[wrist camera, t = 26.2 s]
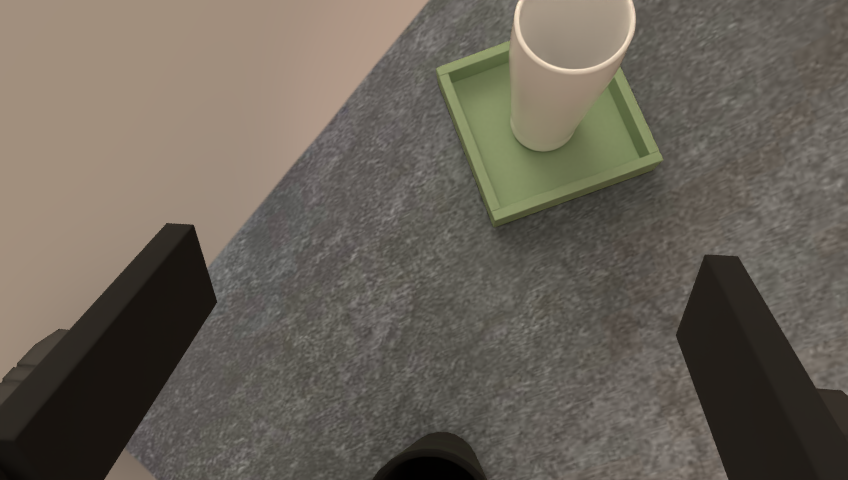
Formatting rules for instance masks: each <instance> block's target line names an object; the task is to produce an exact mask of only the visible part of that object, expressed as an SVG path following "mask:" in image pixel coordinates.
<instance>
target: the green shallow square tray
mask: <svg viewBox="0 0 848 480" xmlns="http://www.w3.org/2000/svg"><path fill="white" fill-rule="evenodd" d="M509 46H510V41H508V42H505V43H503V44H500V45H497V46H495V47H492V48H489V49H487V50H484V51H481V52H478V53H476V54H473V55H470V56H468V57H465V58H462V59H460V60H457V61H454V62H451V63H449V64H446V65H443V66H441V67H438V68H436V73H437V80H438V85H439V87H440V90H441V92H442V95H443V98H444V100H445V103H446V105H447V108H448V111H449V113H450V116H451V118H452V121H453V124H454V126H455V129H456V131H457V134H458V137H459V139H460V142H461V144H462V147H463V150H464V152H465V155H466V157H467V160H468V163H469V165H470V168H471V170H472V173H473V176H474V178H475V181H476V183H477V186H478V189H479V191H480V194H481V196H482V199H483V202H484V204H485V207H486V209H487V212H488V215H489V217H490V220H491V222H492V225H493V227H497V226H500V225H503V224H505V223H508V222H511V221H514V220H516V219H519V218H522V217H525V216H527V215H530V214H533V213H536V212H539V211H541V210H544V209H547V208H550V207H552V206H555V205H558V204H561V203H563V202H566V201H569V200H572V199H575V198H577V197H580V196H583V195H586V194H588V193H591V192H594V191H597V190H599V189H602V188H605V187H608V186H611V185H613V184H616V183H619V182H622V181H624V180H627V179H630V178H633V177H635V176H638V175H641V174H644V173H647V172H649V171H652V170H653V169H654V168H655V167H656V166H658V165H659V164H660V163H661V162H662V161H663V158H662V156H661V154H660V152H659V149H658V147H657V145H656V143H655V141H654V138H653V136H652V134H651V132H650V130H649V128H648V125H647V123H646V121H645V119H644V117H643V115H642V113H641V110H640V108H639V106H638V104H637V102H636V100H635V97H634V95H633V93H632V91H631V89H630V87H629V84H628V82H627V80H626V78H625V76H624V74H623V72H622V69H621V67H619V68H618V70H617V72H616V74H615V76H614V77H613V79H612V81H611V82H610V83H609V85H608V86H607V88H606V89H605V91H604V92H603V93H602V95H601V96H600V97H599V99H598V100H597V101H596V103H595V104H594V105H593V106H592V108H591V109H590V110H589V112H588V113H587V114H586V116H585V117H584V118H583V120H582V121H581V122H580V124H579V125H578V127H577V128H576V130H575V132H574V134H573V136H572V137H571V139H570V140H569V141H568V142H567V143H566V144H564V145H563V146H561V147H560V148H558V149H555V150H552V151H546V152H540V151H534V150H531V149H529V148H527V147H525V146H523V145H522V144H521V143H520V142H519V141H518V140H517V139H516V137H515V136H514V134H513V132H512V129H511V125H510V114H511V95H510V77H509Z"/></svg>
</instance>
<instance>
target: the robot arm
mask: <svg viewBox="0 0 848 480" xmlns="http://www.w3.org/2000/svg"><path fill="white" fill-rule="evenodd" d="M216 303H217V300H216V296H215V293H214V290H213V287H212V283H211V280H210V277H209V273H208V270H207V267H206V264H205V260H204V257H203V254H202V251H201V248H200V244H199V241H198V237H197V234H196V231H195V227H194V225H189V224H188V225H187V224H172V223H171V224H170V223H166V225H165V226H164V227H163V228H162V229H161V230H160V231H159V232H158V233H157V234H156V235H155V237H154V238H153V239H152V240H151V241H150V242H149V243H148V244H147V245H146V246H145V248H144V249H143V250H142V251H141V252H140V253H139V254H138V255H137V256H136V257H135V259H134V260H133V261H132V262H131V263H130V264H129V265H128V266H127V267H126V269H124V271H123V272H122V273H121V274H120V275H119V276H118V277H117V278H116V279H115V280H114V282H113V283H112V284H111V285H110V286H109V287H108V288H107V289H106V290H105V291H104V293H103V294H102V295H101V296H100V297H99V298H98V299H97V300H96V301H95V302H94V303H93V305H92V306H91V307H90V308H89V309H88V310H87V311H86V312H85V313H84V314H83V316H82V317H81V318H80V319H79V320H78V321H77V322H76V323H75V324H74V326H73V327H72V328H71V329H70V330H63V329H58V330H57V331H55V332H54V333H52V334H51V335H49V336H47V337H46V338H45V339H43V340H41V341H40V342H38V343H37V344H35V345H34V346H33V347H32V348H31V349H30V350H29V351H28V352H27V354H26V355H25V356H24V357H23V358H22V359H21V360H20V361H19V362H18V363H17V367H13V368H12V369H11V370H10V371H9V372H8V374H6V376H5V377H4V378H3V381H2V383H0V480H104V479H105V477H106V476H107V474H108V473H109V471H110V470H111V468H112V466H113V465H114V463H115V462H116V460H117V459H118V457H119V456H120V454H121V452H122V451H123V449H124V448H125V446H126V445H127V443H128V441H129V440H130V438H131V437H132V435H133V434H134V432H135V430H136V429H137V427H138V426H139V424H140V423H141V421H142V419H143V418H144V416H145V415H146V413H147V412H148V410H149V408H150V407H151V405H152V404H153V402H154V401H155V399H156V397H157V396H158V394H159V393H160V391H161V390H162V388H163V386H164V385H165V383H166V382H167V380H168V379H169V377H170V375H171V374H172V372H173V371H174V369H175V368H176V366H177V364H178V363H179V361H180V360H181V358H182V357H183V355H184V353H185V352H186V350H187V349H188V347H189V346H190V344H191V342H192V341H193V339H194V338H195V336H196V335H197V333H198V331H199V330H200V328H201V327H202V325H203V324H204V322H205V320H206V319H207V317H208V316H209V314H210V313H211V311H212V309H213V308H214V306H215V305H216ZM676 337H677V340H678V343H679V345H680V348H681V351H682V354H683V356H684V359H685V362H686V364H687V367H688V370H689V373H690V375H691V378H692V381H693V384H694V386H695V389H696V392H697V395H698V397H699V400H700V403H701V406H702V408H703V411H704V414H705V416H706V419H707V422H708V425H709V427H710V430H711V433H712V436H713V438H714V441H715V444H716V447H717V449H718V452H719V455H720V458H721V460H722V463H723V466H724V469H725V471H726V474H727V477H728V479H729V480H848V396H847V395H846V394H845V393H844V392H843V391H841V390H829V389H817V388H816V387H815V386H814V384H813V382H812V381H811V379H810V377H809V376H808V374H807V372H806V371H805V369H804V367H803V366H802V364H801V362H800V360H799V359H798V357H797V355H796V354H795V352H794V350H793V349H792V347H791V345H790V344H789V342H788V340H787V339H786V337H785V335H784V333H783V332H782V330H781V328H780V327H779V325H778V323H777V322H776V320H775V318H774V317H773V315H772V313H771V312H770V310H769V308H768V306H767V305H766V303H765V301H764V300H763V298H762V296H761V295H760V293H759V291H758V290H757V288H756V286H755V285H754V283H753V281H752V279H751V278H750V276H749V274H748V273H747V271H746V269H745V268H744V266H743V264H742V263H741V261H740V259H739V258H738V256H722V255H705V256H704V258H703V261H702V264H701V267H700V270H699V272H698V275H697V278H696V281H695V283H694V286H693V289H692V292H691V295H690V297H689V300H688V303H687V306H686V309H685V311H684V314H683V317H682V320H681V323H680V325H679V328H678V331H677V334H676Z"/></svg>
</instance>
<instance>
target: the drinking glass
mask: <svg viewBox="0 0 848 480" xmlns="http://www.w3.org/2000/svg"><path fill="white" fill-rule="evenodd" d="M635 25H636V14H635V8H634V5H633V2H632V0H519V1H518V3H517V6H516V10H515V15H514V20H513V25H512V30H511V36H510V46H509V77H510V95H511V114H510V125H511V129H512V132H513V134H514V136H515V137H516V139H517V140H518V141H519V142H520V143H521V144H522V145H523V146H525V147H527V148H529V149H531V150H534V151H540V152H546V151H552V150H555V149H558V148H560V147H561V146H563V145H564V144H566V143H567V142H568V141H569V140H570V139H571V137H572V136H573V134H574V132H575V130H576V128H577V127H578V125H579V124H580V122H581V121H582V120H583V118H584V117H585V116H586V114H587V113H588V112H589V110H590V109H591V108H592V106H593V105H594V104H595V103H596V101H597V100H598V99H599V97H600V96H601V95H602V93H603V92H604V91H605V89H606V88H607V86H608V85H609V83H610V82H611V81H612V79H613V77H614V76H615V74H616V72H617V70H618V68H619V67H620V65H621V63H622V61H623V59H624V56H625V54H626V52H627V49H628V47H629V44H630V42H631V40H632V38H633V35H634V31H635Z"/></svg>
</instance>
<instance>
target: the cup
mask: <svg viewBox="0 0 848 480" xmlns="http://www.w3.org/2000/svg"><path fill="white" fill-rule="evenodd" d="M373 480H487V478H486V476H485V474H484V472H483V470H482V468H481V466H480V464H479V461H478V459H477V457H476V455H475V453H474V452H473V450H472V448H471V447H470V445H469V444H467V443H466V442H465V441H464V440H463V439H462V438H460V437H458V436H457V435H455V434H451V433H448V432H436V433H431V434H428V435H427V436H425V437H423V438H421V439H420V440H418V441H417V442H415V443H414V444H413V445H411V446H410V447H408V448H407V449H406V450H404V451H403V452H401V453H400V454H399V455H397V456H396V457H394V458H393V459H391V460H390V461H389V462H388V463H387V464H386V465H385V466H383V467H382V468H381V469H380V470H379V471H378V472H377V474H376V475H375V477H374V478H373Z"/></svg>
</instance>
